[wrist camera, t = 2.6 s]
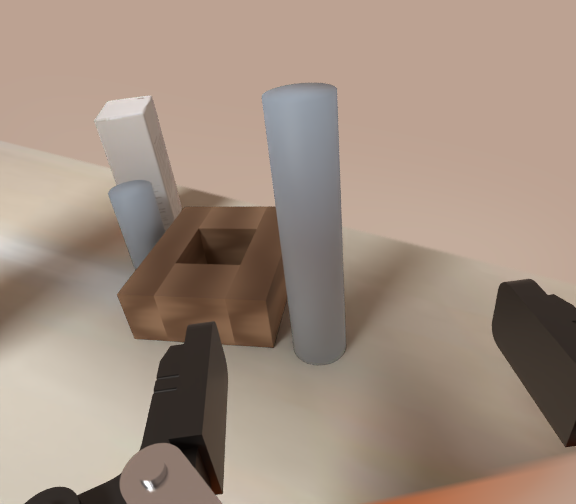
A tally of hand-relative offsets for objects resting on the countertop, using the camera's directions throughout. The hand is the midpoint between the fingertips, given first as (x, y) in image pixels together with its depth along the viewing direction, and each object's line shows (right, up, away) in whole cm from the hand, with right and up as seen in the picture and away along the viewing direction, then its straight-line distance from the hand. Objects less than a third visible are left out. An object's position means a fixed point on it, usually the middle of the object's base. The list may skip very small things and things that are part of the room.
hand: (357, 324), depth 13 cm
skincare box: (-15, +5, +32) cm, 36 cm away
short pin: (-14, +1, +27) cm, 30 cm away
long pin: (0, -4, +16) cm, 17 cm away
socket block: (-7, -1, +22) cm, 23 cm away
